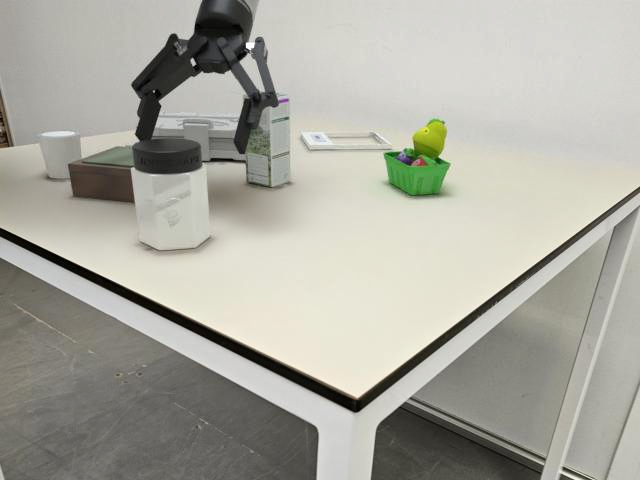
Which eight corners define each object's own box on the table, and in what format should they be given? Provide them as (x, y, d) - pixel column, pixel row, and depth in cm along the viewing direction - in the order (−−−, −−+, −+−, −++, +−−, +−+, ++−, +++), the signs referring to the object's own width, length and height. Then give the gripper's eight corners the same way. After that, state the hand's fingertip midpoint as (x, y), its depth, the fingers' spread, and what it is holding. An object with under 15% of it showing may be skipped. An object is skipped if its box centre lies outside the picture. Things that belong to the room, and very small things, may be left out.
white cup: (79, 168, 110) (73, 128, 106) (91, 176, 105) (85, 134, 102) (39, 172, 106) (31, 131, 103) (50, 181, 101) (42, 138, 98)
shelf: (73, 195, 94) (67, 162, 92) (121, 175, 106) (116, 144, 104) (154, 204, 91) (150, 170, 89) (194, 181, 103) (192, 151, 101)
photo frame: (300, 131, 140) (375, 130, 143) (300, 136, 141) (375, 135, 144) (309, 144, 127) (392, 143, 130) (309, 149, 128) (391, 148, 131)
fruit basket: (379, 181, 107) (383, 114, 101) (423, 178, 109) (430, 113, 104) (407, 198, 97) (414, 126, 92) (455, 195, 100) (464, 124, 95)
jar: (140, 253, 73) (127, 153, 68) (139, 231, 80) (127, 139, 75) (214, 247, 76) (208, 150, 70) (207, 227, 83) (201, 137, 77)
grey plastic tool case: (141, 140, 133) (137, 103, 129) (268, 144, 133) (267, 107, 129) (112, 160, 116) (106, 118, 112) (257, 164, 116) (256, 122, 112)
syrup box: (291, 181, 105) (291, 93, 98) (271, 188, 101) (269, 96, 94) (266, 176, 108) (264, 89, 101) (244, 183, 103) (241, 93, 97)
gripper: (318, 36, 85) (288, 168, 79) (156, 31, 90) (116, 154, 84) (309, -7, 78) (274, 133, 72) (134, -11, 83) (88, 120, 77)
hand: (189, 144), depth 78 cm, fingers open, 13 cm apart
